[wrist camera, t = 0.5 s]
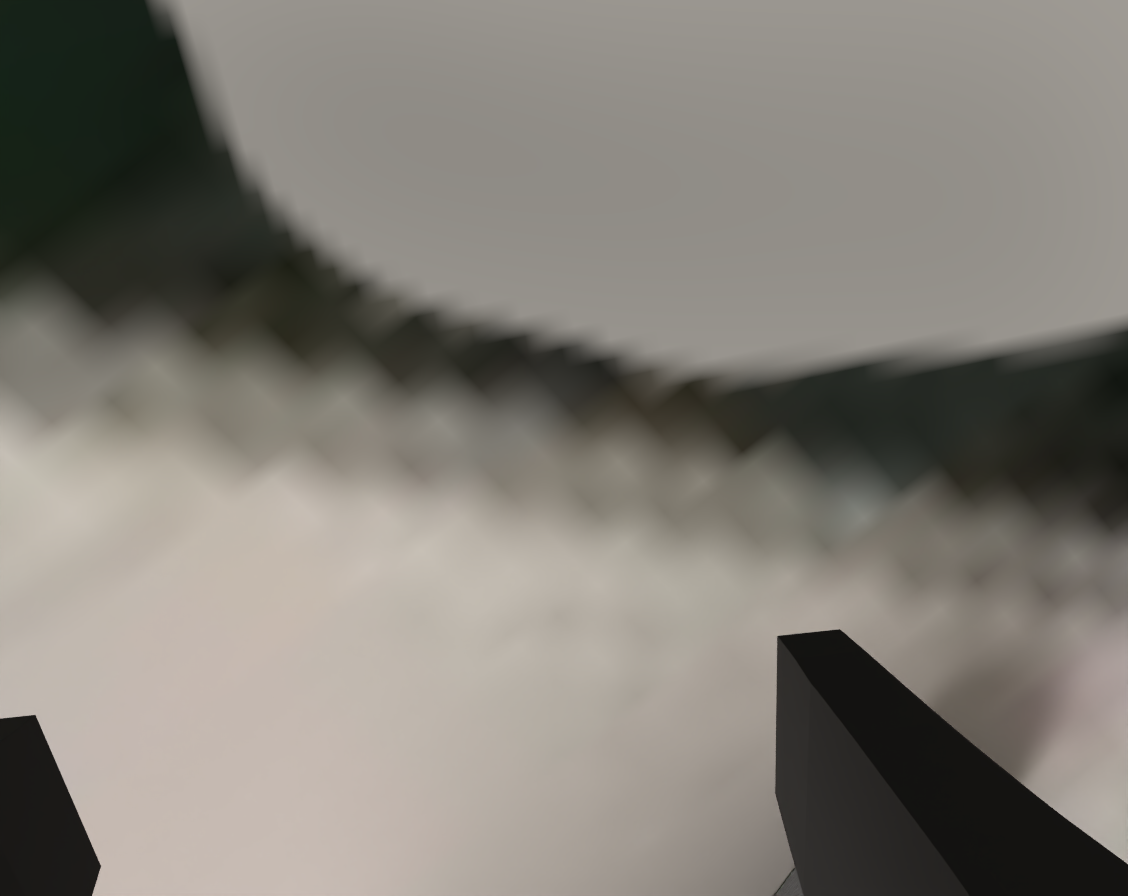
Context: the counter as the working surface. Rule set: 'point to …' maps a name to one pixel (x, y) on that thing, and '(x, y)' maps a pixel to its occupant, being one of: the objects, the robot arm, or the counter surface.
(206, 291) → the counter surface
